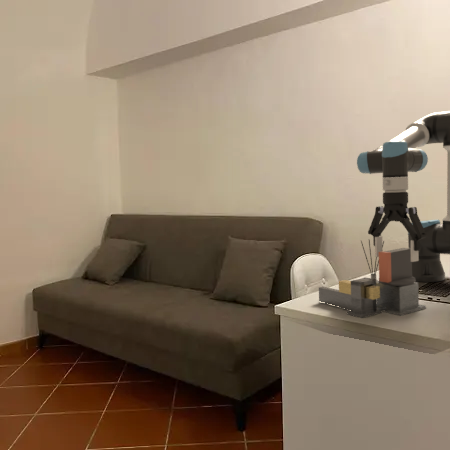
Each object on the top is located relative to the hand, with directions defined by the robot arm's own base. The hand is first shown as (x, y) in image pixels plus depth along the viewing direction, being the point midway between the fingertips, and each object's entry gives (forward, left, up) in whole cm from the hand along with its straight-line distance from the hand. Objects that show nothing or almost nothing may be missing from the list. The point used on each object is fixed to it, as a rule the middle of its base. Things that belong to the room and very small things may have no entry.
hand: (396, 258), depth 158 cm
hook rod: (+12, -5, -10) cm, 16 cm away
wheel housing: (0, 0, -16) cm, 16 cm away
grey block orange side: (0, 0, -7) cm, 8 cm away
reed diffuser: (-9, -16, -16) cm, 25 cm away
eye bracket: (+12, -11, -16) cm, 23 cm away
